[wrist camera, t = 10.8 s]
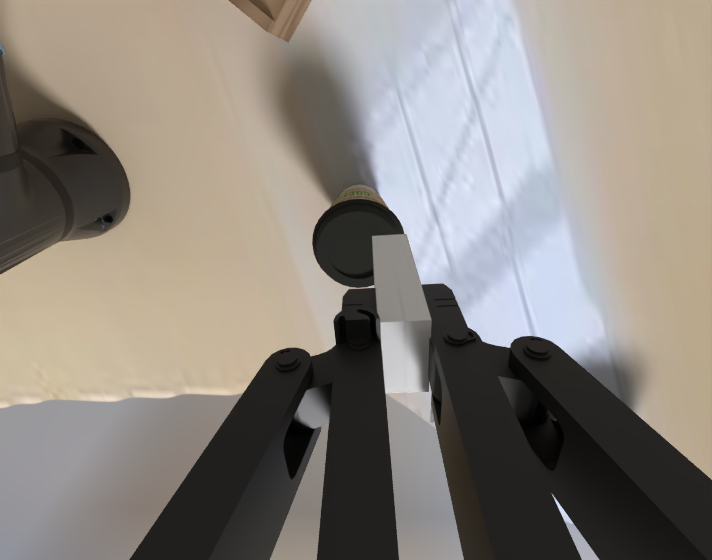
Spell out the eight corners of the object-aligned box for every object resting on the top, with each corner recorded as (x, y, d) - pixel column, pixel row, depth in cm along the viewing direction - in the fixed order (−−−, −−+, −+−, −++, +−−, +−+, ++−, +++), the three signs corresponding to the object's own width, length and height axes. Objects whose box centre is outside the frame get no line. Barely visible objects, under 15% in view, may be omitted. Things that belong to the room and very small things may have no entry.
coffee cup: (329, 163, 48) (318, 194, 35) (403, 178, 49) (419, 215, 36) (318, 232, 53) (303, 284, 39) (385, 246, 54) (393, 300, 40)
